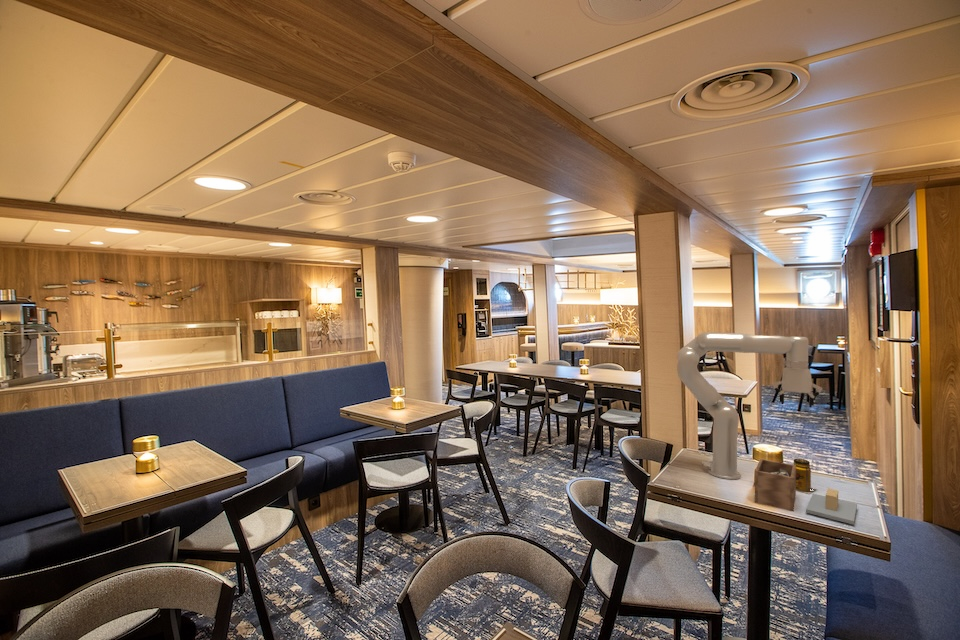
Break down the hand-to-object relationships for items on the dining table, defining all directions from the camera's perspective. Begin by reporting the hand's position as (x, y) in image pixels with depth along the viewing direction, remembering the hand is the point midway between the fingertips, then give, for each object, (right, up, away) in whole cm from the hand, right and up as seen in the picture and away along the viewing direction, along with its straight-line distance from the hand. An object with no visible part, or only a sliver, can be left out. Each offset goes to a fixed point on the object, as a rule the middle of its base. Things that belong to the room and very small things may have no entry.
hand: (796, 405), depth 184 cm
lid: (-7, -34, -28) cm, 44 cm away
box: (-21, -33, -17) cm, 42 cm away
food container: (-20, -33, -17) cm, 42 cm away
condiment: (-3, -33, -7) cm, 34 cm away
